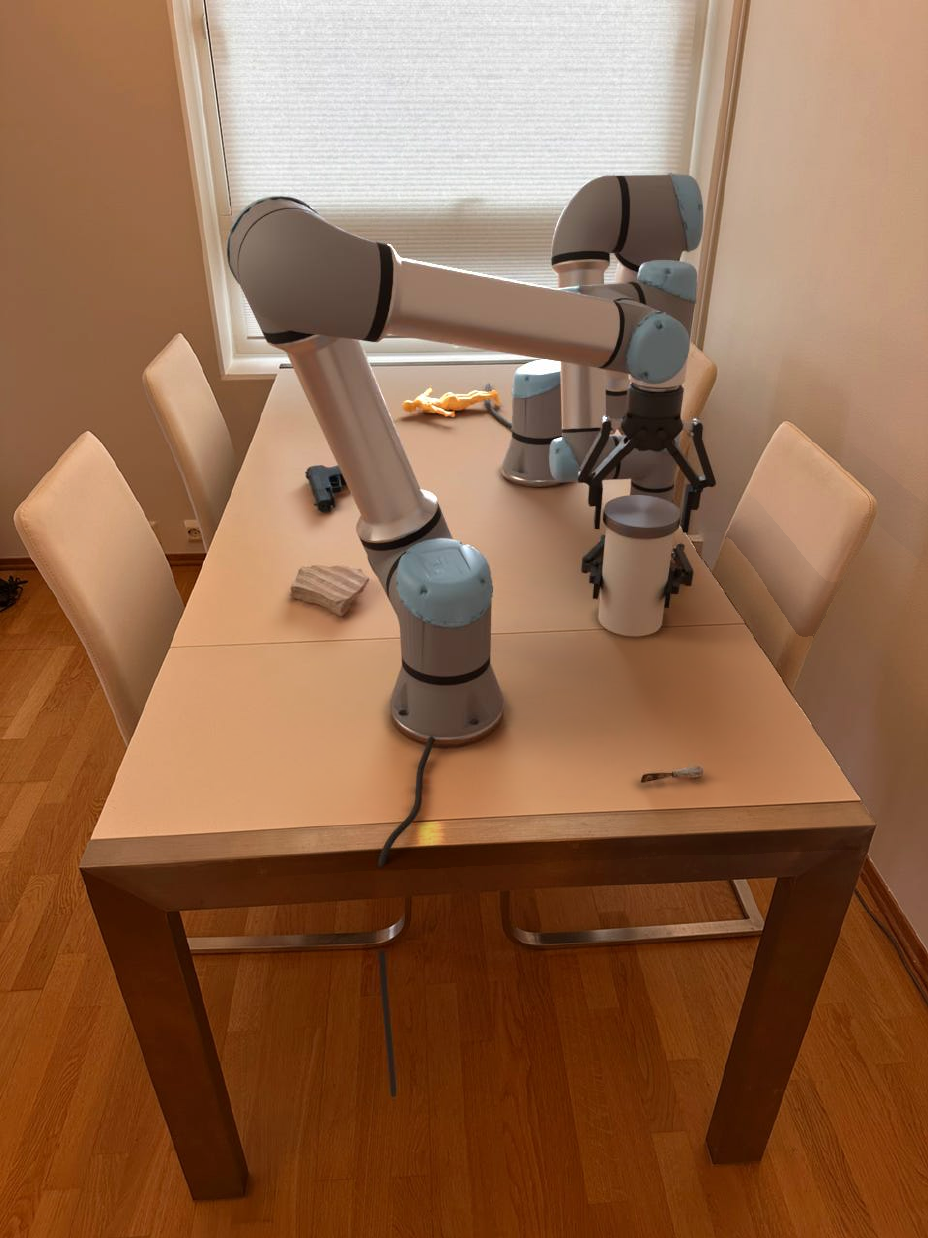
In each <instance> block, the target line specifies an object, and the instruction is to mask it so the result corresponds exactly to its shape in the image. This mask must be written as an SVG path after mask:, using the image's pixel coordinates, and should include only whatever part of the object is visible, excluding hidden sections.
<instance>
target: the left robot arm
mask: <svg viewBox="0 0 928 1238" xmlns="http://www.w3.org/2000/svg"><path fill="white" fill-rule="evenodd" d="M226 259H227V265H228V267H229V270H230V272H231V275H232V276H233V278H234V279H235V281H236V282H237V284H238V285H239V286H240V288H241V291H242V292H243V294H244V297H245V299H246V301H247V303H248V305H249V307H250V310H251V312H252V313H253V316H254V318H255V321H256V322H257V324H258V326H259V329H260V330H261V332H262V335H263V337H264V339H265V341H266V343H267V344H268V345H269V346H271V347H273V348H276V349H278V350H281V351H283V352H285V353H286V356H287V358H288V360H289V362H290V364H291V366H292V368H293V371H294V373H295V375H296V378H297V379H298V382H299V384H300V385H301V388H302V390H303V392H304V395H305V397H306V399H307V401H308V403H309V405H310V408H311V410H312V412H313V414H314V416H315V418H316V420H317V422H318V424H319V425H318V426H319V428H320V430H321V431H322V434H323V436H324V438H325V440H326V442H327V444H328V446H329V449H330V451H331V453H332V455H333V457H334V460H335V462H336V463H337V465H338V466H339V468H340V470H341V472H342V475H343V477H344V479H345V481H346V483H347V485H346V486H347V488H348V490H349V492H350V494H351V496H352V498H353V501H354V503H355V505H356V507H357V510H358V511H359V514H360V516H359V518H358V520H357V522H356V524H355V525H356V526H355V531H356V534H357V536H358V538H359V541H360V543H361V544H362V547H363V549H364V551H365V554H366V555H367V556H366V558H367V562H368V564H369V567H370V568H371V570H372V572H373V573H374V575H375V576H376V577H377V579H378V581H379V583H380V585H381V587H382V589H383V590H384V593H385V595H386V596H387V599H388V601H389V602H390V604H391V607H392V609H393V610H394V613H395V615H396V617H397V621H398V624H399V633H400V634H399V635H400V655H401V667H400V669H399V672H398V675H397V678H396V681H395V684H394V687H393V690H392V693H391V696H390V703H389V706H390V718H391V721H392V724H393V725H394V727H395V728H396V729H397V731H398V732H399V733H400V734H402V735H403V736H404V737H406V738H407V739H409V740H411V741H413V742H415V743H417V744H420V745H421V744H422V745H425V747H424V749H423V753H422V755H421V758H420V760H419V763H418V765H417V769H416V776H415V792H414V804H413V806H412V809H411V811H410V812H409V814H408V816H407V817H406V818H405V819H404V820H403V821H402V822H401V823H400V824H399V825H398V826H397V827H396V828H395V829H394V830H393V831H392V832H391V833H390V835H389V836H388V838H387V839H386V841H385V842H384V845H383V847H382V849H381V852H380V854H379V858H378V861H377V865H378V866H379V867H384V866H385V865H386V862H387V859H388V855H389V853H390V851H391V848H392V847H393V845H394V844H395V841H396V840H397V839H398V837H399V836H400V835H401V834H402V833H403V832H404V831H405V830H406V829H407V828H408V827H409V826H411V824H412V823H414V821H415V819H416V818H417V816H418V814H419V812H420V809H421V806H422V798H423V786H424V785H423V784H424V783H423V782H424V772H425V768H426V764H427V762H428V760H429V757H430V755H431V751H432V750H433V747H437V748H454V747H455V748H457V747H463V746H467V745H471V744H473V743H476V742H480V741H481V740H483V739H485V738H486V737H488V736H489V735H491V734H492V733H493V732H494V731H495V730H496V729H498V727H499V726H500V724H501V722H502V720H503V717H504V696H503V693H502V690H501V687H500V685H499V682H498V679H497V677H496V674H495V672H494V668H493V666H492V664H491V654H492V653H491V651H492V649H491V648H492V608H493V607H492V603H493V602H492V601H493V594H494V585H493V578H492V572H491V567H490V565H489V562H488V560H487V558H486V557H485V556H484V554H482V552H481V551H479V550H478V549H477V548H476V547H474V546H473V545H470V544H467V543H466V544H463V543H462V541H460V540H457V539H454V538H453V536H452V534H451V531H450V528H449V526H448V523H447V521H446V519H445V516H444V514H443V511H442V509H441V508H442V507H441V506H440V504H439V502H438V501H439V500H438V499H437V497H436V495H434V494H433V493H432V492H431V491H427V490H424V489H421V487H420V484H419V482H418V480H417V477H416V474H415V471H414V470H413V467H412V464H411V462H410V459H409V458H408V454H407V453H406V450H405V447H404V445H403V442H402V440H401V437H400V435H399V432H398V430H397V428H396V426H395V422H394V420H393V417H392V415H391V413H390V410H389V408H388V405H387V403H386V400H385V398H384V396H383V393H382V391H381V388H380V386H379V383H378V381H377V378H376V376H375V374H374V371H373V369H372V366H371V363H370V361H369V358H368V356H367V354H366V351H365V348H364V346H363V344H362V342H370V343H379V342H380V341H382V340H383V339H384V338H386V337H387V336H388V335H390V336H396V337H403V338H409V339H417V340H422V341H428V342H433V343H441V344H446V345H452V346H459V347H465V348H472V349H477V350H483V351H484V350H485V351H489V352H497V353H503V354H510V355H514V356H515V355H516V356H521V357H527V358H528V357H529V358H535V359H539V360H543V359H546V360H552V361H558V362H565V363H571V364H577V365H583V366H589V367H595V368H600V369H604V370H610V371H616V372H622V373H626V374H629V380H630V381H631V383H630V384H629V385H628V390H627V401H626V411H625V415H624V417H623V418H622V419H614V418H610V416H608V415H605V416H603V417H602V422H601V429H600V432H599V433H598V435H597V437H596V439H595V441H594V443H593V444H592V446H591V448H590V450H589V452H588V454H587V455H586V457H585V459H584V461H583V463H582V465H581V466H580V468H579V470H578V481H579V482H580V483H579V484H586V485H587V486H588V495H587V496H588V497H587V503H588V506H589V507H592V508H593V507H594V514H593V515H594V517H593V528H594V530H600V528H601V519H602V518H601V516H602V506H603V505H602V504H603V494H604V485H603V481H605V480H604V479H605V477H606V476H607V475H608V474H609V473H610V472H611V471H612V470H613V469H614V468H615V467H616V466H617V465H618V464H619V463H620V462H621V460H622V459H623V458H624V457H625V456H626V455H628V454H629V453H630V452H631V451H632V450H633V449H634V448H636V449H638V451H647V450H652V451H657V452H661V450H663V449H665V448H666V449H667V451H668V452H669V453H670V455H671V456H672V457H673V459H674V460H675V462H676V463H677V467H678V468H679V469H680V471H681V472H682V473H683V475H684V476H685V478H686V479H687V481H688V483H686V484H685V492H684V497H683V506H682V511H681V518H680V526H681V531H682V534H683V533H684V534H689V529H690V523H691V522H690V521H691V514H692V511H698V510H699V508H700V503H701V502H700V501H701V495H702V492H704V489H706V488H713V487H715V486H716V484H717V481H716V477H715V475H714V472H713V468H712V465H711V462H710V459H709V455H708V453H707V450H706V447H705V443H704V440H703V432H704V425H703V422H702V419H701V418H699V417H694V418H693V419H691V420H682V416H681V415H682V408H683V401H684V393H685V392H684V391H685V389H684V387H683V384H684V383H685V382H686V376H687V367H688V366H687V365H688V360H689V359H688V358H689V357H688V356H689V353H690V347H691V337H692V331H693V330H692V329H693V322H694V314H695V309H696V308H695V307H696V305H697V291H698V271H697V269H696V267H695V266H694V265H693V264H691V263H688V262H685V261H673V260H654V261H650V262H645V263H643V264H642V265H641V266H640V268H639V272H638V276H637V281H632V282H627V283H615V284H613V283H604V284H600V285H585V286H580V285H576V286H573V287H567V288H560V289H558V288H554V287H548V286H544V285H538V284H533V283H529V282H523V281H518V280H514V279H509V278H504V277H500V276H499V277H498V276H493V275H488V274H483V273H479V272H473V271H468V270H463V269H458V268H454V267H449V266H444V265H438V264H434V263H430V262H429V263H428V262H425V261H424V262H423V261H418V260H414V259H409V258H403V257H400V256H399V255H398V254H397V252H396V250H395V248H393V246H392V245H391V244H389V243H385V242H380V241H375V240H371V239H367V238H365V237H362V236H361V237H360V236H359V235H357V234H354V233H351V232H349V231H346V230H344V229H342V228H340V227H338V226H337V225H335V224H333V223H331V222H329V221H327V220H326V219H325V218H323V217H322V216H321V215H320V214H319V213H318V212H317V211H316V209H314V207H312V206H311V205H309V204H308V203H306V202H305V201H304V200H303V201H302V200H300V199H297V198H295V197H291V196H283V195H278V196H277V195H276V196H275V195H274V196H266V197H262V198H259V199H257V200H255V201H253V202H251V203H250V204H248V205H246V207H244V208H243V209H242V210H241V211H240V212H239V213H238V215H237V216H236V217H235V219H234V220H233V222H232V225H231V227H230V230H229V233H228V238H227V242H226ZM618 429H621V431H622V433H623V435H626V436H625V437H624V438H623V439H622V440H621V441H620V443H619V445H618V446H617V447H616V448H615V449H614V450H613V451H612V452H611V453H610V454H609V455H608V456H607V458H606V459H605V460H604V461H603V462H602V463H601V464H600V465H599V466H598V467H597V468H596V469H595V470H594V472H593V473H590V472H591V470H592V469H593V467H594V465H595V463H596V461H597V460H598V458H599V456H600V454H601V452H602V451H603V449H604V447H605V445H606V443H607V441H608V439H609V436H613V435H614V434H616V432H617V430H618ZM682 431H685V432H686V435H687V436H688V437H690V438H692V439H691V440H692V442H693V445H694V448H695V452H696V454H697V458H698V460H699V463H700V466H701V467H700V468H701V469H702V472H703V475H702V476H699V475H698V473H697V472H696V470H695V469H694V467H693V466H692V465H691V463H690V462H689V460H688V458H687V457H686V455H685V454H684V452H683V450H682V449H681V448H680V446H679V447H678V445H677V443H676V441H675V440H674V439H675V438H676V437H677V436H678V434H679V433H680V434H681V433H682ZM378 966H379V979H380V980H379V982H380V993H381V1004H382V1014H383V1015H382V1016H383V1025H384V1033H385V1034H384V1035H385V1036H384V1037H385V1045H386V1055H387V1067H388V1079H389V1090H390V1092H389V1094H390V1096H391V1097H392V1098H395V1097H396V1096H397V1094H398V1093H397V1080H396V1069H395V1056H394V1055H395V1054H394V1047H393V1046H394V1045H393V1044H394V1043H393V1036H392V1035H393V1034H392V1023H391V1014H390V1001H389V989H388V977H387V975H388V974H387V956H386V951H385V950H381V949H378Z"/></svg>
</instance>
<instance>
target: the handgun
mask: <svg viewBox="0 0 928 1238" xmlns="http://www.w3.org/2000/svg"><path fill="white" fill-rule="evenodd" d="M304 473H305V479H307V480H308V483H309V486H310V488H311V492H312V496H313V497H314V500H315V503H313V506H314V507H317V510H318V511H319V512H320V513H330V512H331V511H332V507H333V508H334V509H335V508H336V500H335V499H336V498H335V494H341V493H342V492H343V487H344V486H348V485H347V483H346V481H345V479H344V477H343V475H342V472H341V470H340V468H339V466H338V464H337V465H333V466H330V467H328V466H325V465H323V464H319V465H311V466H309V467H307V468H306V471H305V472H304Z"/></svg>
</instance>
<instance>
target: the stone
mask: <svg viewBox="0 0 928 1238" xmlns="http://www.w3.org/2000/svg"><path fill="white" fill-rule="evenodd" d="M369 581H370V578H369V576H368V575H367V574H365V573H363V569H362V568H354V567H351V566H348V565H333V566H327V565H321V564H319V565H317V564H316V565H315V564H313V565H311V566H303V565H302V566H300V567H299V568H298V571H297V573H296V576H295V580H294V582H293V583H292V584H291V585H290V592H289V597H291V598H294V599H296V600H300V601H303V602H306V603H307V604H315V605H318V606H321V607H323V608H325V609H326V610H328V611H329V612H331V613H333V614H334V615H336V616H337V617H343V616H344V615H345V614H346V613H347V612H349V610H350V608H351V604H352V603H353V601H354V600H355V599H356V598H357V596H358V595H360V594H361V593H362V592H364V590H365V588H366V586H367V585H368V583H369Z"/></svg>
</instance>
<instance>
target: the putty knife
mask: <svg viewBox="0 0 928 1238" xmlns="http://www.w3.org/2000/svg"><path fill="white" fill-rule="evenodd" d="M704 772H705V771H704V768H702V767H701V766H697V765H695V766H688V767H683V768H679V769H675V770H673V771H671V772H653V773H652V772H651V773H650V772H649V773H644V774H642V776H641V779H640V783H642V784H645V783H648V782H653V781H659V780H665V779H668V778H673V779H674V778H675V779H693V778H694V779H695V778H700V777H702V776H703V775H704Z"/></svg>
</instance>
